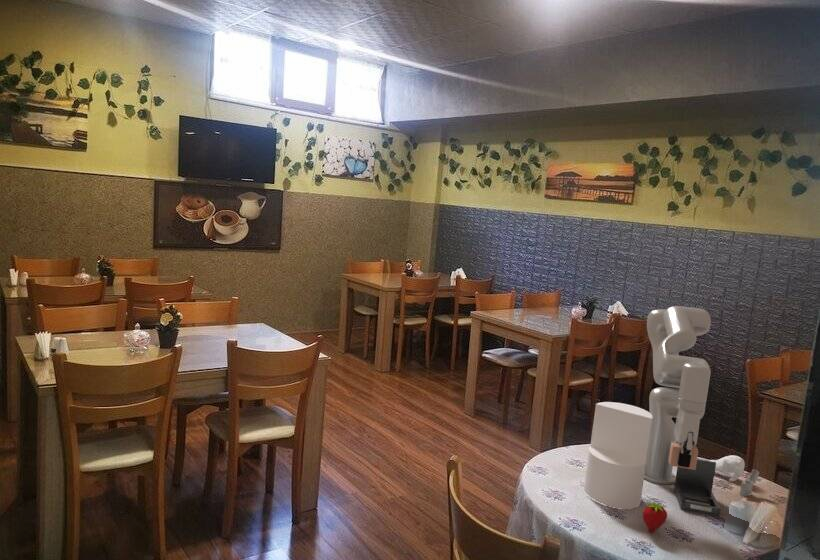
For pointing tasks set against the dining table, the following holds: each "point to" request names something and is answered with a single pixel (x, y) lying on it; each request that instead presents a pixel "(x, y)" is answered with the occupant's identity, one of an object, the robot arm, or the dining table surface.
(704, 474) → the rack
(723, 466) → the white rounded lump
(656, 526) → the strawberry
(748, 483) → the lighter
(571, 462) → the dining table surface
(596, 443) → the cylinder
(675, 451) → the cardboard box
